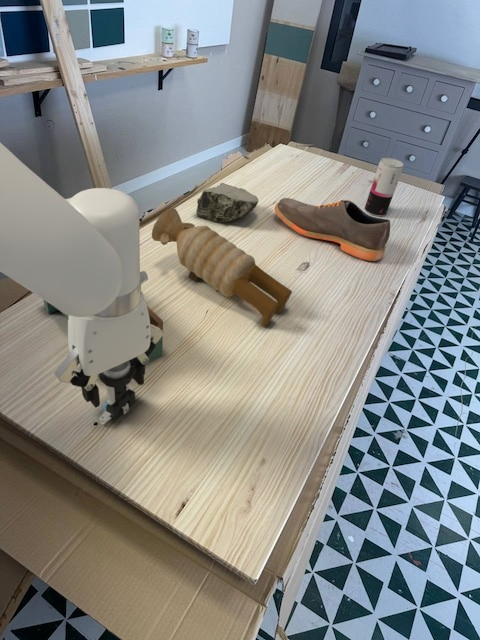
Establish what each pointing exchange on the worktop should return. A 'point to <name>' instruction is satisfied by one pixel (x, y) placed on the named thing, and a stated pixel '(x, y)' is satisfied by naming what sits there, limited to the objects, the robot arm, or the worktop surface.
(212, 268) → the toy animal figurine
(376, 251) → the oxford shoe
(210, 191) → the concrete fragment
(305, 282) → the worktop surface
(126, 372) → the push button
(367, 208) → the beverage can
